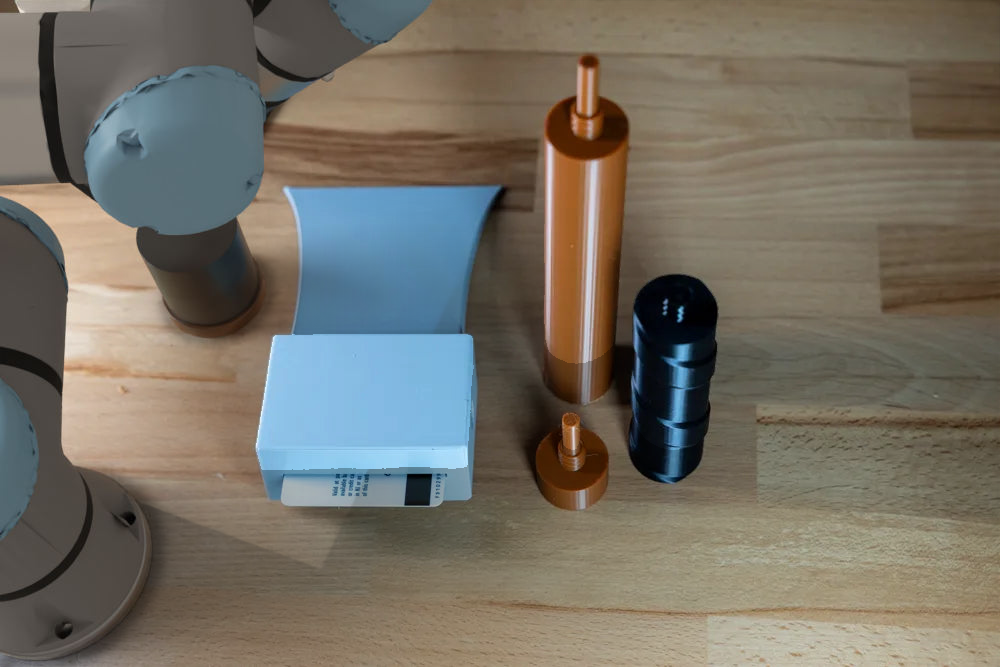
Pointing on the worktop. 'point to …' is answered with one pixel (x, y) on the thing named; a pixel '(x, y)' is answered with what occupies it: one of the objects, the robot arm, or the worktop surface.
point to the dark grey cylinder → (205, 278)
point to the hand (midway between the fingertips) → (113, 147)
